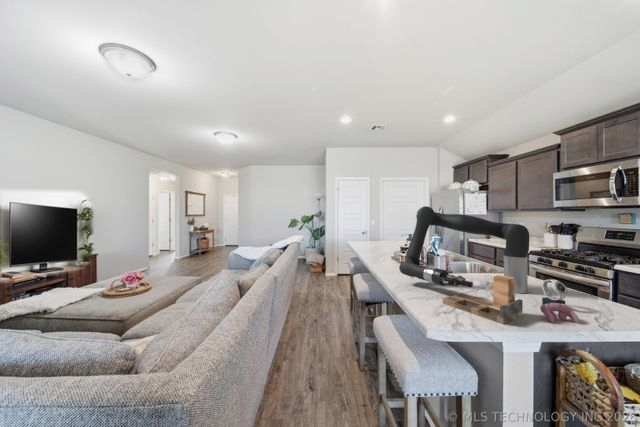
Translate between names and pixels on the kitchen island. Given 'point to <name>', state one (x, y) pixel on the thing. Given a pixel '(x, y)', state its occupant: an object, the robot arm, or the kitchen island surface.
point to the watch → (558, 288)
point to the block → (503, 290)
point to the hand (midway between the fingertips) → (472, 285)
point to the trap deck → (486, 307)
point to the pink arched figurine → (562, 312)
